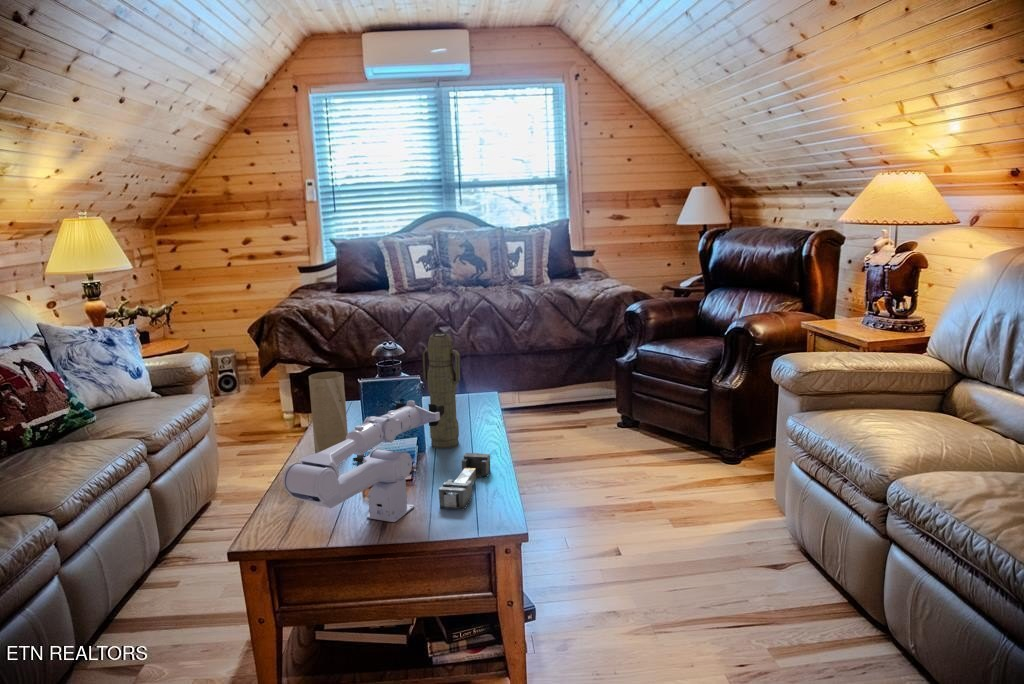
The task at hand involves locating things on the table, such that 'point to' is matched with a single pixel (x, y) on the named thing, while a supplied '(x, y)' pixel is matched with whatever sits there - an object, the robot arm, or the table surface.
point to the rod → (453, 498)
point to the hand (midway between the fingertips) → (430, 408)
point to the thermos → (443, 388)
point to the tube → (328, 409)
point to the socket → (477, 463)
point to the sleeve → (463, 492)
